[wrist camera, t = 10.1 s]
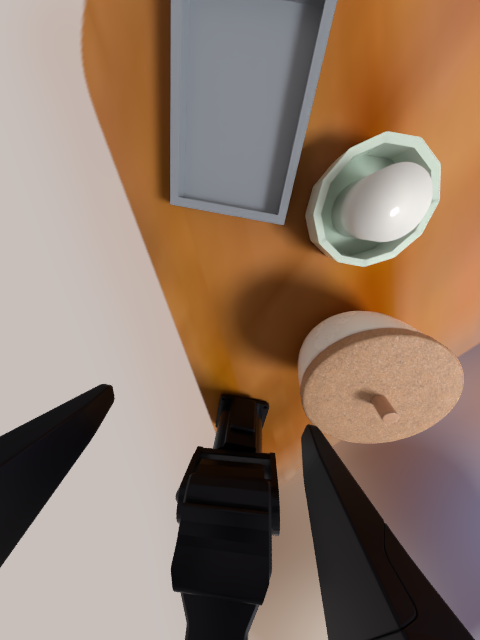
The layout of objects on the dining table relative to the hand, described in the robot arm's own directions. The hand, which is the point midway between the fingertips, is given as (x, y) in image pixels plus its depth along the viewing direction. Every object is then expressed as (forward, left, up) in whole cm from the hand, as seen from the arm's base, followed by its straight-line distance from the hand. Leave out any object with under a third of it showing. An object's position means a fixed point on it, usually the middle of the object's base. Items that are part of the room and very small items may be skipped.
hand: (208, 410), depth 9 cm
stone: (+10, -8, -12) cm, 18 cm away
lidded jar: (-2, -12, -13) cm, 18 cm away
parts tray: (+14, +2, -13) cm, 19 cm away
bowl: (+10, -8, -13) cm, 18 cm away
